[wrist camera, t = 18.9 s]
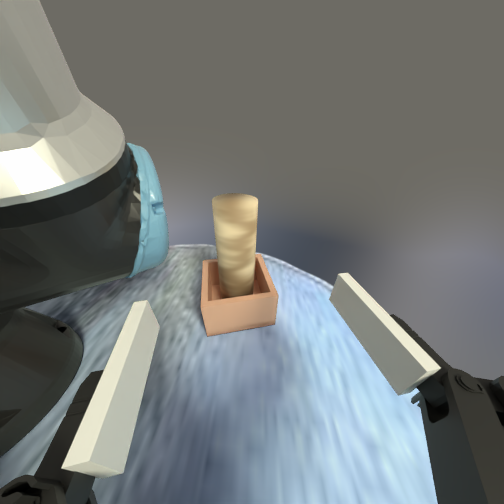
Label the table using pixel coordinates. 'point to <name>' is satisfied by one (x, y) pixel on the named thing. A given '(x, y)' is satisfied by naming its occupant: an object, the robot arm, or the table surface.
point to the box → (237, 301)
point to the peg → (235, 242)
